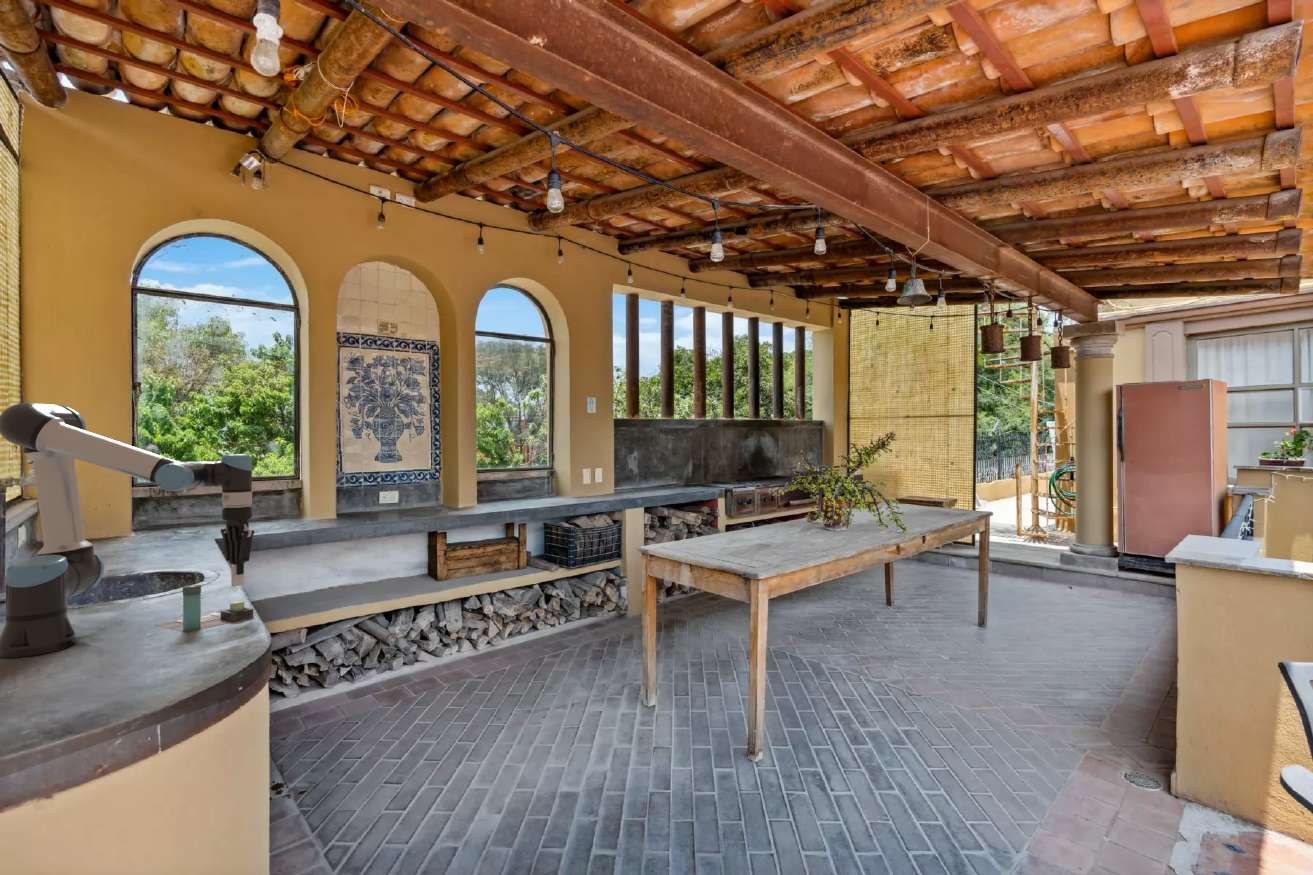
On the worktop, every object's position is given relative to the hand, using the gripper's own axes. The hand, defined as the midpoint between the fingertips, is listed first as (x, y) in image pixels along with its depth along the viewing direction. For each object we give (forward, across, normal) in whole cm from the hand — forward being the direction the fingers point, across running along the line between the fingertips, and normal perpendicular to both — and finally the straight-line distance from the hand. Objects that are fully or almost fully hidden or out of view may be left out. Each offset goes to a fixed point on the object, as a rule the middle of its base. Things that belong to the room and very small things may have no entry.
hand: (237, 585), depth 194 cm
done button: (+8, 0, 0) cm, 8 cm away
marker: (+10, 0, -13) cm, 16 cm away
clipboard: (+11, -5, -6) cm, 13 cm away
